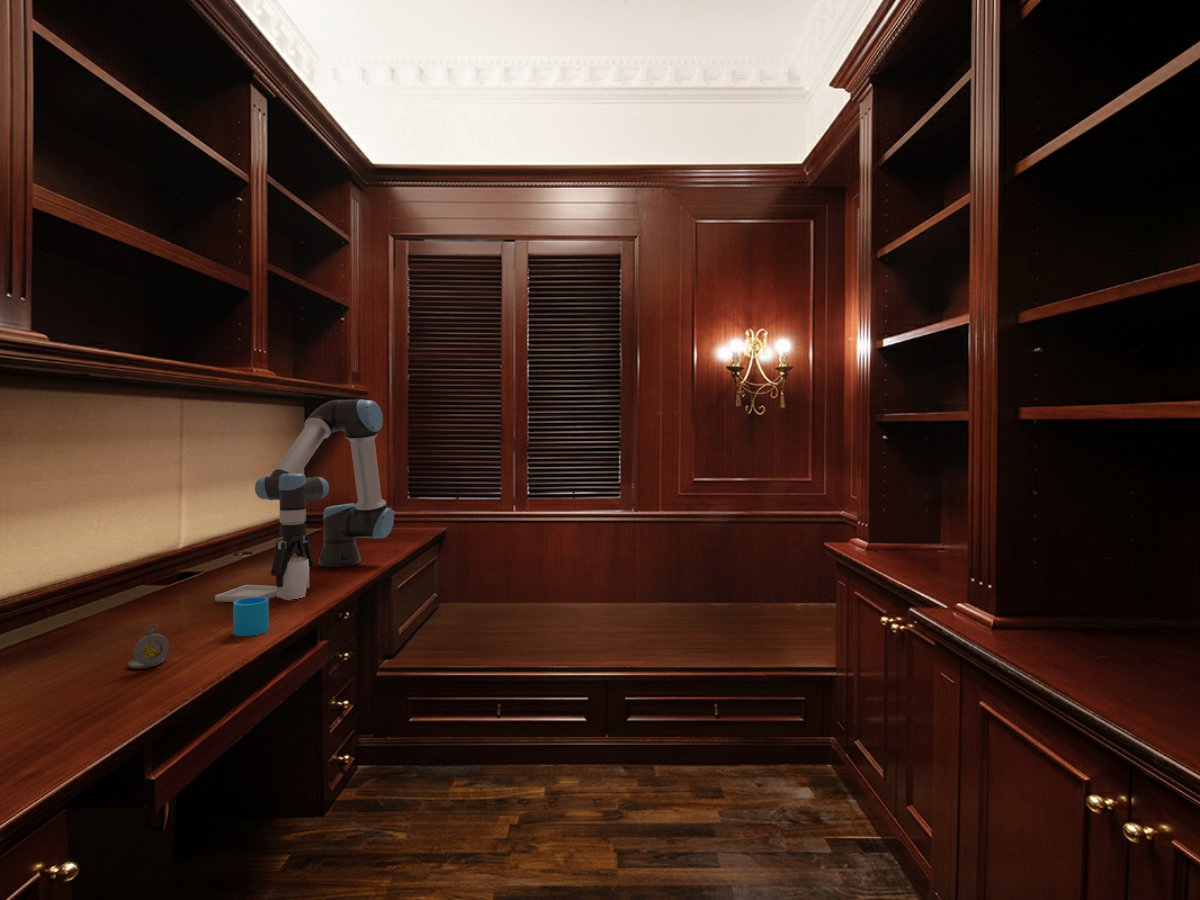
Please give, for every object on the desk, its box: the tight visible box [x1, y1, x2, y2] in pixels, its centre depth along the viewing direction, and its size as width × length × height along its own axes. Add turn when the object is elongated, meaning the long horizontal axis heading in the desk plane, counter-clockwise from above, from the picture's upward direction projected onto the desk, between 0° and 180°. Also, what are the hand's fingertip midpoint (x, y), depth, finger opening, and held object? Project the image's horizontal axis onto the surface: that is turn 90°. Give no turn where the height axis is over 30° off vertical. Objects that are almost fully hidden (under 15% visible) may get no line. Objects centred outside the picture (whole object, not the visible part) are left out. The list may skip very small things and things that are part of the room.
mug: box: [232, 597, 270, 637], centre depth 173 cm, size 12×8×8 cm
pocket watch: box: [128, 623, 170, 669], centre depth 146 cm, size 8×8×10 cm
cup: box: [281, 556, 310, 601], centre depth 206 cm, size 9×9×12 cm
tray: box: [214, 584, 277, 603], centre depth 206 cm, size 14×14×2 cm
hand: (293, 592), depth 206 cm, fingers open, 11 cm apart
